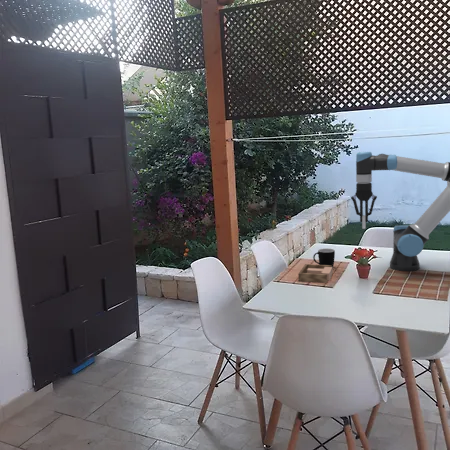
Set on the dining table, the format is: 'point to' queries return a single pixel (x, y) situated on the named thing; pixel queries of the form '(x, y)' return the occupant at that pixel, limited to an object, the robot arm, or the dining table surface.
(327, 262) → the mug
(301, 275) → the pocket
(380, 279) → the dining table surface
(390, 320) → the dining table surface
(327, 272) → the block
